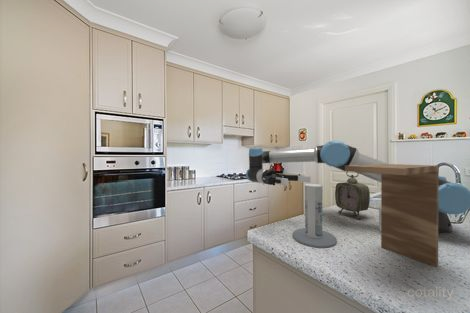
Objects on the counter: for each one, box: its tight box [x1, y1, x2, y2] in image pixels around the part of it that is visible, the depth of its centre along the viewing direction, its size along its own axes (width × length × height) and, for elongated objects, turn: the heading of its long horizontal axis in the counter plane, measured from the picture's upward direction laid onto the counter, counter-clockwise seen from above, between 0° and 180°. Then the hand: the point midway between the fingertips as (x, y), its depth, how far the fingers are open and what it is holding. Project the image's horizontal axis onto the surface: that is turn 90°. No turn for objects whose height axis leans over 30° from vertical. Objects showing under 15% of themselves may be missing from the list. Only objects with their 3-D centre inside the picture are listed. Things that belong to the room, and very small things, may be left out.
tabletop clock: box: [334, 171, 371, 220], centre depth 105 cm, size 14×9×25 cm, turn 23°
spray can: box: [304, 183, 324, 239], centre depth 77 cm, size 6×6×20 cm
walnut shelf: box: [344, 163, 440, 268], centre depth 58 cm, size 24×14×30 cm, turn 120°
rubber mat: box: [292, 227, 338, 249], centre depth 77 cm, size 16×16×1 cm
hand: (299, 180), depth 83 cm, fingers open, 13 cm apart
